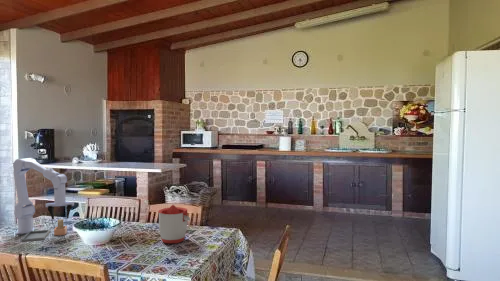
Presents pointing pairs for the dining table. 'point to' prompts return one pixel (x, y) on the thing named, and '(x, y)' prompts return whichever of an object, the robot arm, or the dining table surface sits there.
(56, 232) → the open box
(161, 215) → the citrus juicer
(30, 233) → the tray
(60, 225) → the dowel
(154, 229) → the dining table surface
